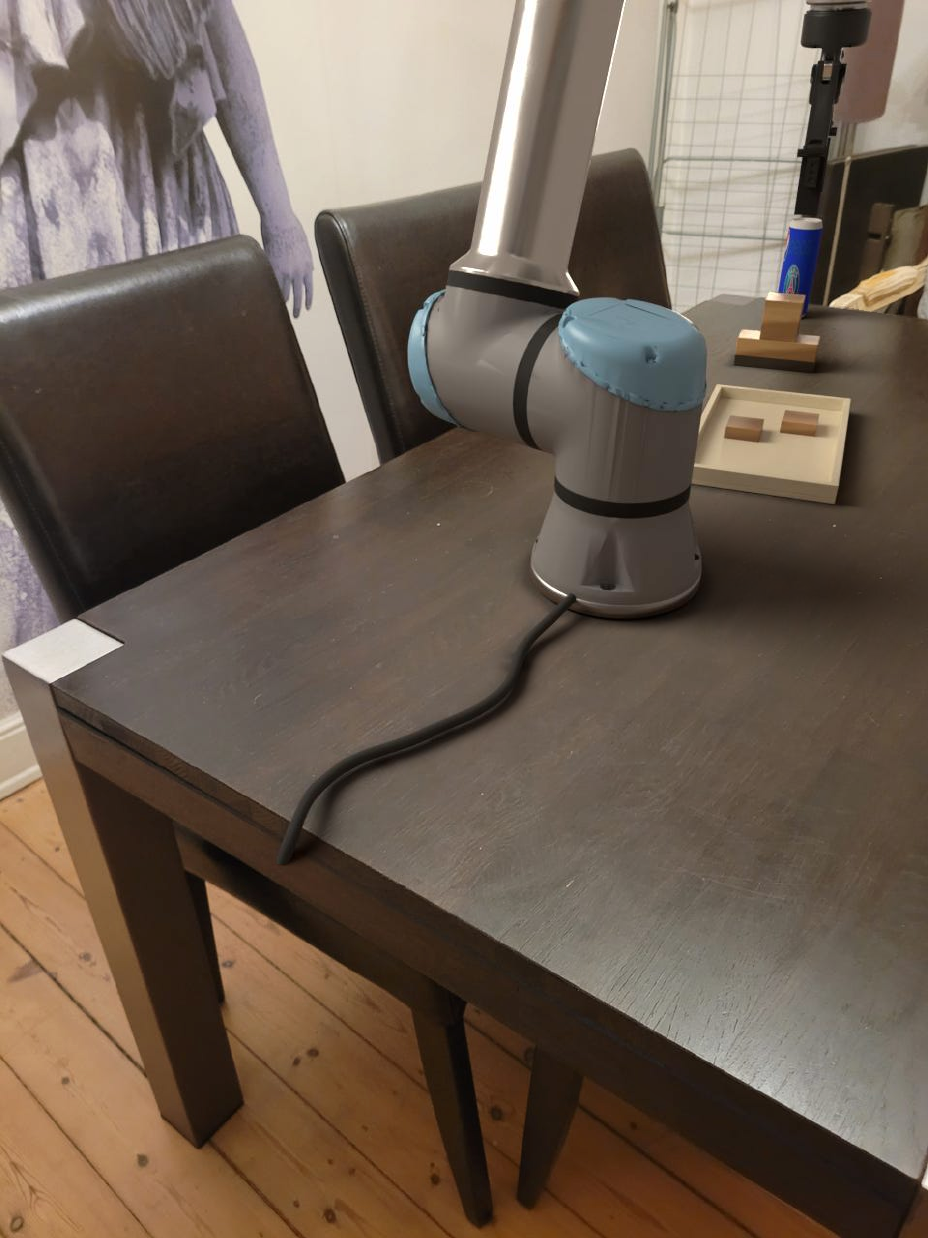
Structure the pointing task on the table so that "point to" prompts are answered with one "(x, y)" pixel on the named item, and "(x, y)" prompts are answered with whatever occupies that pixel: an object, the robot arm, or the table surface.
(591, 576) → the robot arm
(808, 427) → the chip
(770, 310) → the brush
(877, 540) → the table surface
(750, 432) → the chip
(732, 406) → the tray
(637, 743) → the table surface
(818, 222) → the beverage can
